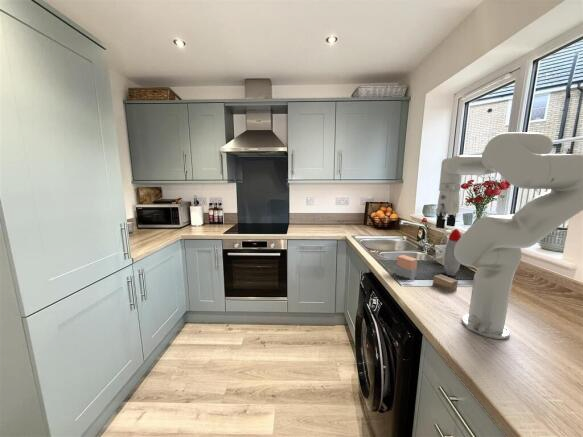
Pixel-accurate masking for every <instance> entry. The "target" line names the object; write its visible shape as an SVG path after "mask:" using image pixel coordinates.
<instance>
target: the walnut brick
mask: <svg viewBox="0 0 583 437" xmlns="http://www.w3.org/2000/svg"><path fill="white" fill-rule="evenodd" d="M458 282H459V281H458V280H457V279H454V278H451V277H448V275H444V274H442V273H441V274H436V275H433V279H432V286H433V287H436V288H437V289H440V290H442V291H444V292H446V293H448V294H449V293H453V292H457V289H458V285H459V284H458Z"/></svg>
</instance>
